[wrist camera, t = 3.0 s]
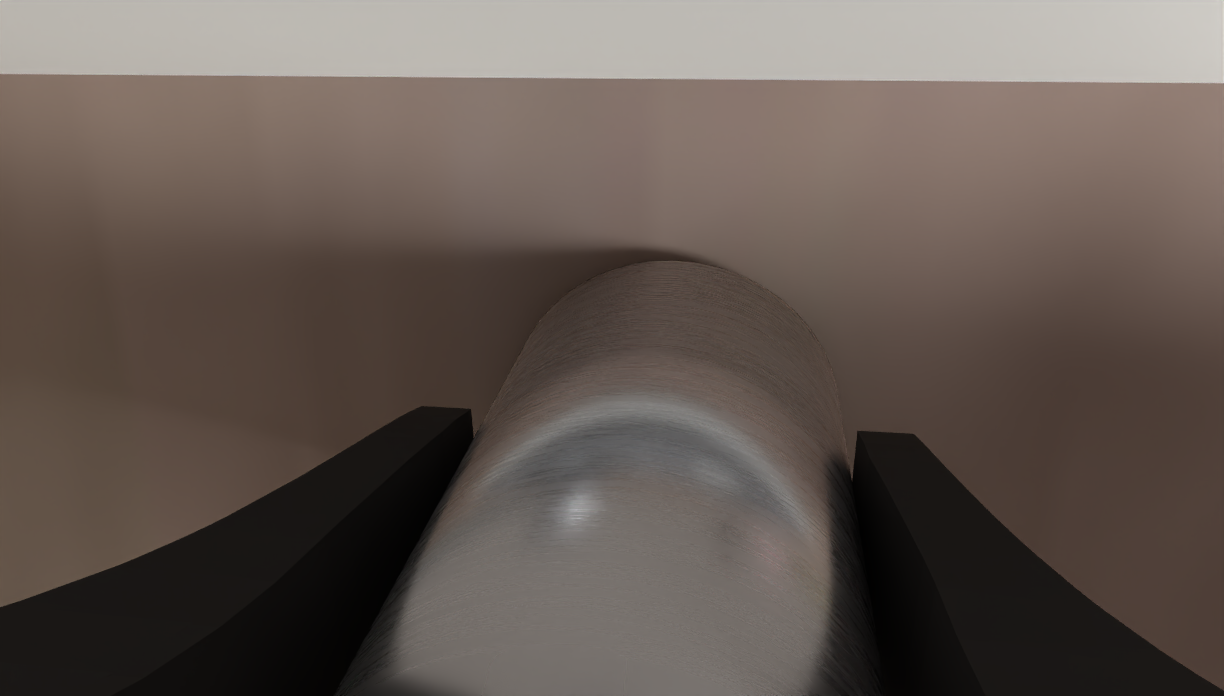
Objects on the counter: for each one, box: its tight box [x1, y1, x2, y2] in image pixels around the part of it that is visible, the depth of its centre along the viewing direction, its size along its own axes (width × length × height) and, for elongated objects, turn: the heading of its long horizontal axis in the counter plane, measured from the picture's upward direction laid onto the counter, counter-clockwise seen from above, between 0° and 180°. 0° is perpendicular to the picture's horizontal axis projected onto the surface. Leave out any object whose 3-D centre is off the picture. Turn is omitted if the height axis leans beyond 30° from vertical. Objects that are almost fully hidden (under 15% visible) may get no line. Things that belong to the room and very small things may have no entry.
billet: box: [334, 261, 886, 696], centre depth 10 cm, size 4×4×7 cm
